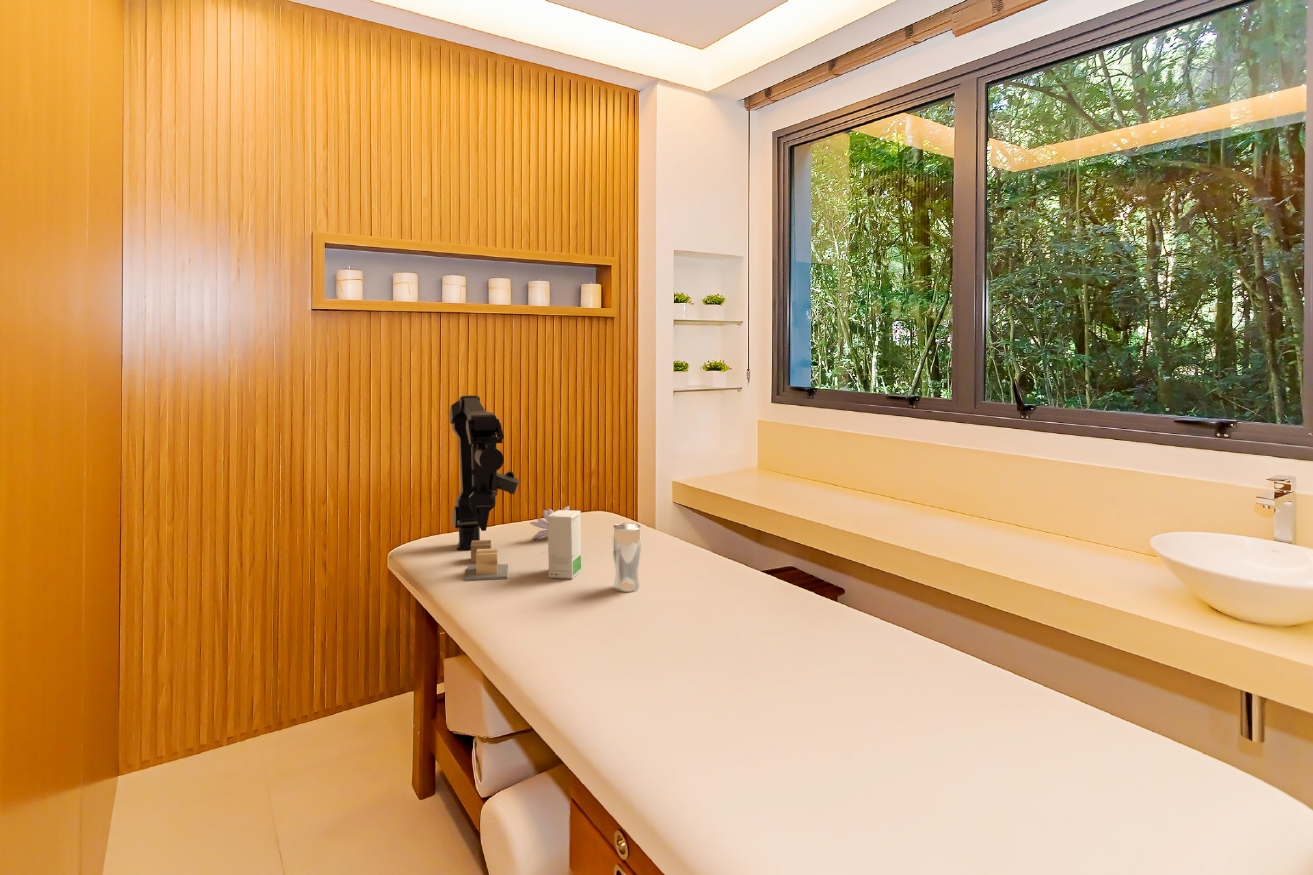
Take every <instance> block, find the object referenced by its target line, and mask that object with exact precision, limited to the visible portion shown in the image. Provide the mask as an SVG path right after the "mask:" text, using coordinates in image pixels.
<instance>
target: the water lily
mask: <svg viewBox="0 0 1313 875" xmlns="http://www.w3.org/2000/svg"><path fill="white" fill-rule="evenodd" d="M562 510H570V505H567V506H566V507H564V508H563V509H562ZM553 512H554V510H552V509H551V508H548V509H547V510H542V514H543V518H544V519H542V518H537V519H536V520H537V521H531V522H529V524H530V525H532V526H534V527H537V528H540V529H543V530H539V531H537V532H536V533H535V535H533V537H531V540H536V539H541V538H543V537H545V536H548V516H549V515H550V514H551V513H553Z"/></svg>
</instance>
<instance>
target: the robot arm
mask: <svg viewBox="0 0 1313 875" xmlns="http://www.w3.org/2000/svg"><path fill="white" fill-rule="evenodd" d="M480 398H481V397H480V396H479V395H478V396H477V395H475V394H474V395H473V394H472V395H462V396H459V399H458V400H457V401H455V402H454V403H453V404H451V405H450V410H449V411H448V412H449V414H448V416H449V417H448V418H449V424H451V428H452V431H453V433H454V434H455V436H456V437H457V438H458V452H459V453H458V454H459V476H460V478H459V479H460V491H459V494H458V495H457V496H456V499H455V506H454V507H453V511H452V516H451V518H452V526H453V527H454V529H458V544H457V546H456V550H471V542H472V541H475V540H481V536H480V535H481V533H480V532H485V531H487V527H488V521H489V517H490V512H491V510H492V509H494V508H495V507H496V505H497V496H498V492H499V491H498V490H500V491H503V492H507V493H508V494H510V495H515V494H516V491H517V489H518V487H519V482H520V480H519V479H518V478H517V477H515V472H513V471H510V470H508V471H507V472H506V473H505V474H504V473H499V472H498V471H499V470H500V469H501V468H502V466H503V465H504V461H505V458H504V455H503V453H502V451H500V450H499V449H498V448H497V444H503V440H504V438H505V437H504V432H503V427H502V423H501V422H500V419H499V418H497V416H496V414H495V413H493V412H490V411H486V410H485V407H484V406H483V405H482V403H481V399H480Z"/></svg>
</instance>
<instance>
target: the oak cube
mask: <svg viewBox="0 0 1313 875" xmlns="http://www.w3.org/2000/svg"><path fill="white" fill-rule="evenodd" d="M498 555H499V554H498V547H497V548H491V549H477V552H476V564H475V566H476V575H479V574H497V571H498V565H499V561H498V560H499V559H498Z"/></svg>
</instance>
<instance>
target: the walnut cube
mask: <svg viewBox="0 0 1313 875" xmlns="http://www.w3.org/2000/svg"><path fill="white" fill-rule="evenodd" d="M477 549H492V540H491V539H483V540H482V539H480V540H475V541H472V542H471V549H470V565H476V564H475V563H476V552H477Z"/></svg>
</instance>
